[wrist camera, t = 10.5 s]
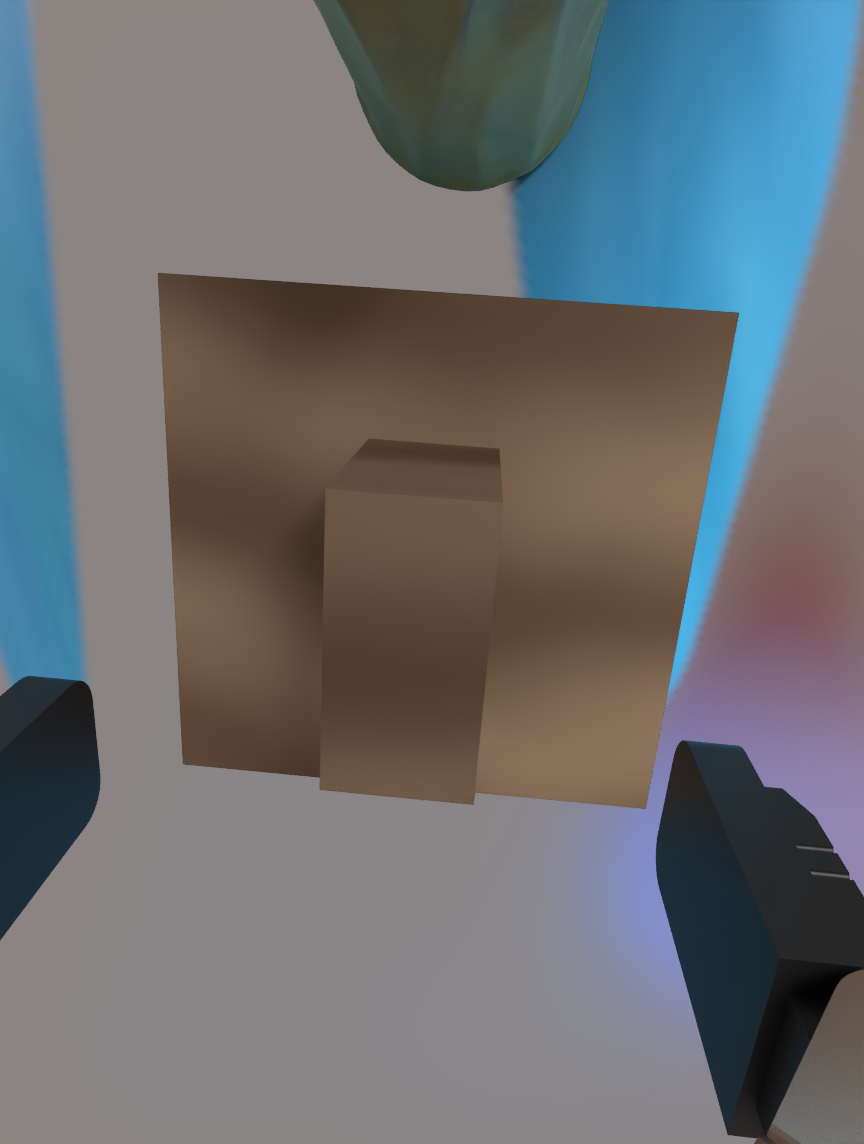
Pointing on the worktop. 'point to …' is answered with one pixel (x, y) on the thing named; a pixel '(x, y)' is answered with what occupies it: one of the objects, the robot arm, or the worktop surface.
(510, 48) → the vase
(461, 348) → the lid
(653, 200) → the worktop surface
